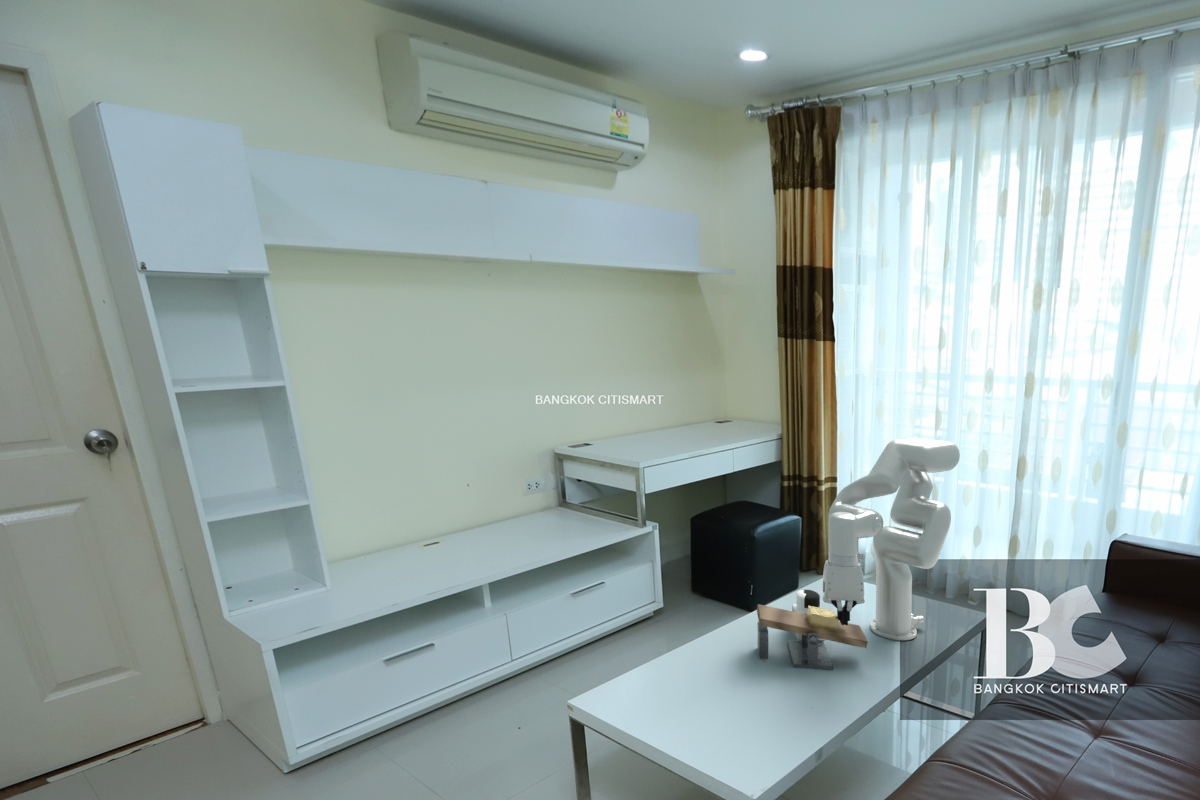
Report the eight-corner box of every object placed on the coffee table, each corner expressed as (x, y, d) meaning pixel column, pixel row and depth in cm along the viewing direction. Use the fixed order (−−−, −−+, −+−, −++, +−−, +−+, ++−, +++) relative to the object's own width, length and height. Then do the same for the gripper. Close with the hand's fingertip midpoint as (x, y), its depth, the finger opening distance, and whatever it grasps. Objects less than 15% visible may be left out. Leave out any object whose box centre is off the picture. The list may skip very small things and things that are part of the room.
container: (817, 628, 181) (818, 587, 180) (824, 641, 174) (825, 598, 172) (791, 627, 182) (791, 586, 181) (797, 640, 174) (797, 597, 173)
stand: (823, 644, 171) (823, 613, 170) (833, 671, 158) (833, 636, 157) (756, 641, 175) (756, 609, 174) (760, 666, 161) (760, 632, 160)
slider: (831, 622, 166) (834, 610, 166) (835, 631, 161) (838, 619, 161) (806, 617, 167) (808, 605, 167) (809, 625, 162) (811, 613, 162)
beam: (858, 632, 167) (859, 625, 167) (866, 648, 158) (867, 641, 158) (756, 610, 171) (757, 604, 171) (759, 625, 163) (760, 618, 162)
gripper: (868, 553, 164) (868, 617, 166) (811, 553, 166) (812, 615, 168) (876, 564, 156) (876, 630, 158) (817, 563, 159) (818, 628, 161)
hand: (843, 622), depth 163 cm, fingers closed
